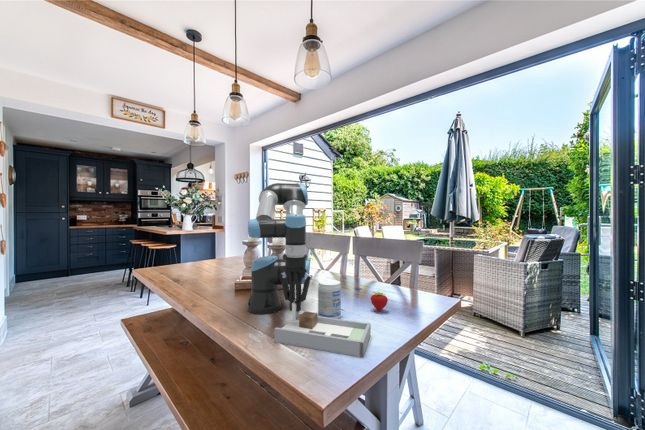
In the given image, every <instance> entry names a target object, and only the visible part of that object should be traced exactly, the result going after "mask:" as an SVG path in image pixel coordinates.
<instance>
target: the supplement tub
mask: <svg viewBox="0 0 645 430" xmlns="http://www.w3.org/2000/svg"><path fill="white" fill-rule="evenodd" d="M341 292H342V286H341V281H339V280H336V279H321V280H319V281H318V288H317V316H320V317H327V318H335V319H341V312H342V311H341V309H342V307H341V305H342V303H341V301H342V298H341V297H342V296H341V295H342V293H341Z"/></svg>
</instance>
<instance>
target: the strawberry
mask: <svg viewBox="0 0 645 430" xmlns="http://www.w3.org/2000/svg"><path fill="white" fill-rule="evenodd" d="M372 293H373V294H372V295H371V296H370V302H371V304H372V306H373V307H374V308H375V310H376V311H377V312H379V313H380V312H382V310H383V309H384V308H385V307H386V305H387V304H388V302H389V300H388V297H387V296H386V294H383V292H380V291H377V292H372Z"/></svg>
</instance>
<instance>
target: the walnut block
mask: <svg viewBox="0 0 645 430" xmlns="http://www.w3.org/2000/svg"><path fill="white" fill-rule="evenodd" d="M300 314H301V315H300V316H299V327H301V328H307V329H313V328H314V327H315V325H316V324H317V316H318V312H312V311H306V310H305V311H303V312H302V313H300Z"/></svg>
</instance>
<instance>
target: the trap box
mask: <svg viewBox="0 0 645 430" xmlns="http://www.w3.org/2000/svg"><path fill="white" fill-rule="evenodd" d="M301 314H302V313H299V316H300V315H301ZM371 326H372V325H371V323H370V322H364V321H356V320H347V319H342V318H339V319H335V318H327V317H320V316H318V315H317V324H316V325H315V327H314V328H313V329H307V328H301V327H299V319H298V320H297V321H292V319H290V320H289V321H288V322H287V323H286V324H285V325H283V327H275V328H274V343H279V344H286V345H290V346H297V347H303V348H307V349H313V350H314V349H315V350H319V351H324V352H331V353H336V354H342V355H348V356H351V357H359V358H364V355H365V353H366V351H367V350H366V349H367V347H368V344H369V341H370V338H371V332H372V331H371Z"/></svg>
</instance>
